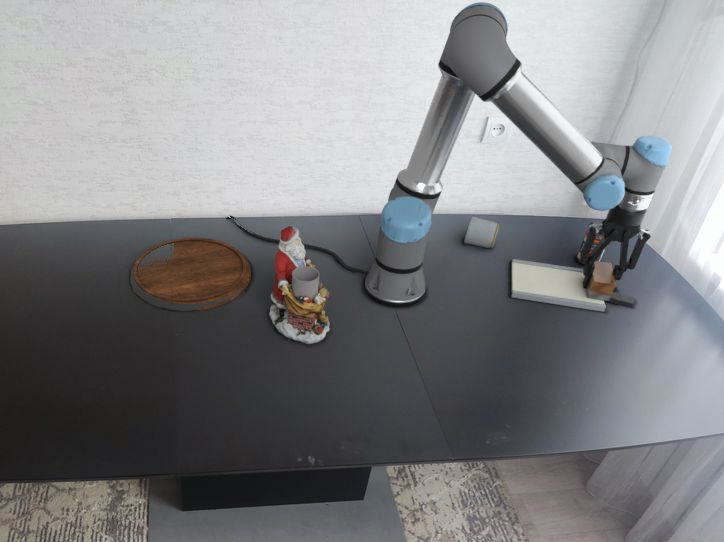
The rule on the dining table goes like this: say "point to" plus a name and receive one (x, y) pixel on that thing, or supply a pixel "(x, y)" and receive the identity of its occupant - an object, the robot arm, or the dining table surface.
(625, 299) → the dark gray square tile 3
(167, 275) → the cutting board
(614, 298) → the grey block
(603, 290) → the eraser
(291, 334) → the santa figurine
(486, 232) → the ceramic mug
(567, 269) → the whiteboard
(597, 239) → the supplement bottle
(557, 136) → the robot arm
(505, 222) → the dining table surface
